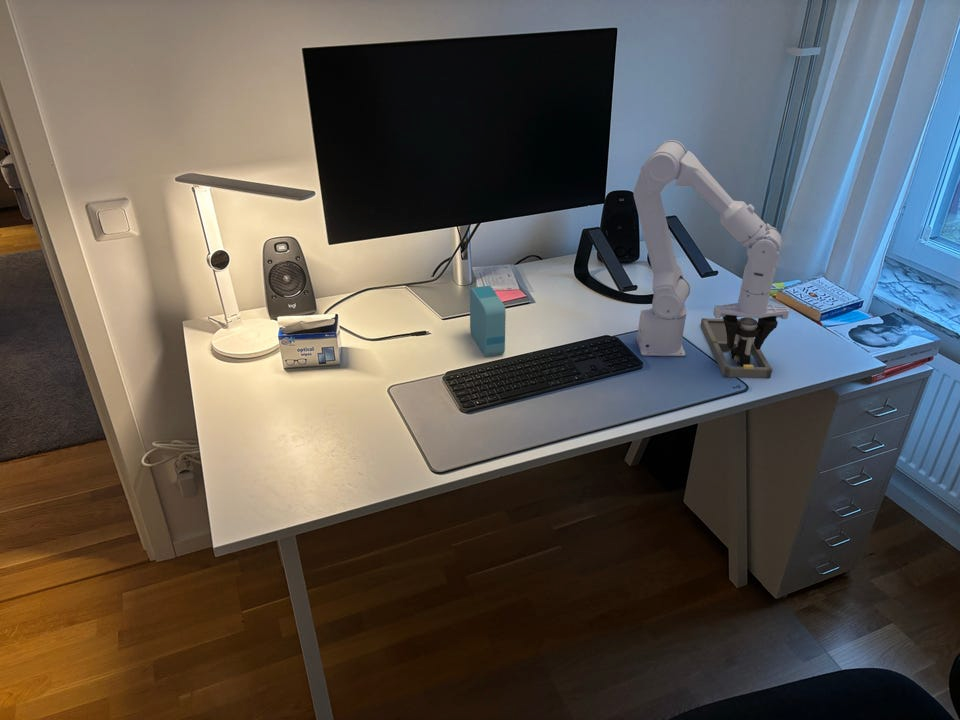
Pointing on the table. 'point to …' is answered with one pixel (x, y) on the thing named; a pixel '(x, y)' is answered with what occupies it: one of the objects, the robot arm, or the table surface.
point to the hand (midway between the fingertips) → (743, 347)
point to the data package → (487, 320)
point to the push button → (745, 341)
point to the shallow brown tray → (718, 343)
